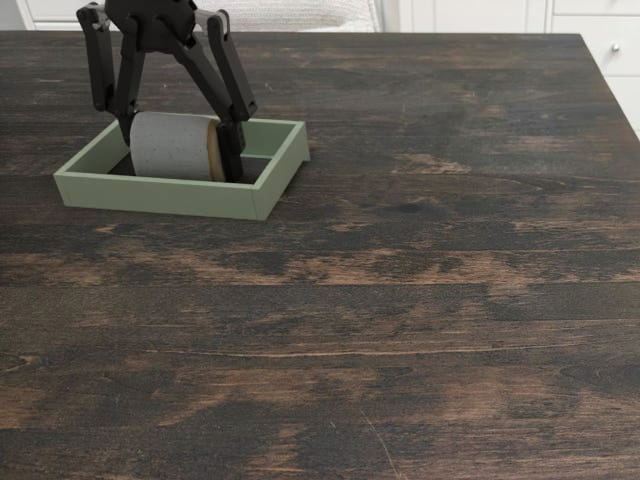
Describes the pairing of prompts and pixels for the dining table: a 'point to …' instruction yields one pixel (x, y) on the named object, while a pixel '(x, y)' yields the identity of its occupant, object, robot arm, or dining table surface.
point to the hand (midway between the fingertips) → (194, 177)
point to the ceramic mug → (176, 147)
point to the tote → (186, 195)
